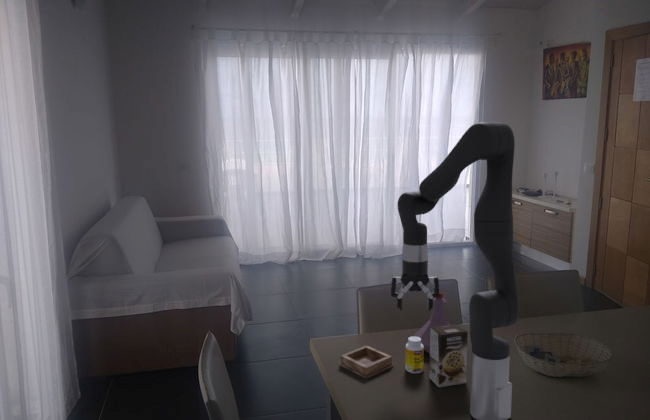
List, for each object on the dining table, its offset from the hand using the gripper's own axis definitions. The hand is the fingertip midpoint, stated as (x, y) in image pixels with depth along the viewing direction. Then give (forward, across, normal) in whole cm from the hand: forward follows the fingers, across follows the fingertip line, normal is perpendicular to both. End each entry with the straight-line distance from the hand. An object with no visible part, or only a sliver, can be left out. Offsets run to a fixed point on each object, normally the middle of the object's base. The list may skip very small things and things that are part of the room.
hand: (414, 309), depth 155 cm
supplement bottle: (+20, 0, 0) cm, 20 cm away
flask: (+20, -9, -15) cm, 26 cm away
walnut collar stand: (+20, +15, -2) cm, 25 cm away
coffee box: (+20, -9, +6) cm, 23 cm away
